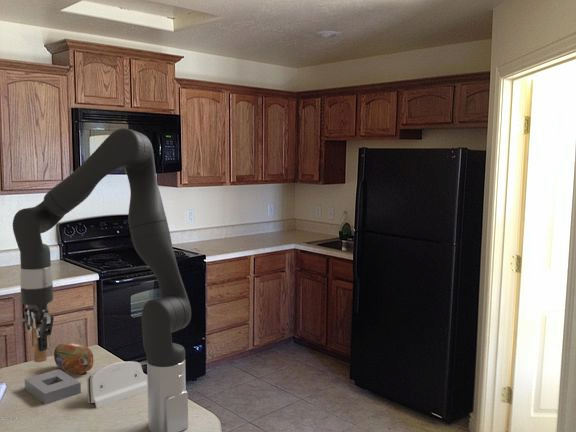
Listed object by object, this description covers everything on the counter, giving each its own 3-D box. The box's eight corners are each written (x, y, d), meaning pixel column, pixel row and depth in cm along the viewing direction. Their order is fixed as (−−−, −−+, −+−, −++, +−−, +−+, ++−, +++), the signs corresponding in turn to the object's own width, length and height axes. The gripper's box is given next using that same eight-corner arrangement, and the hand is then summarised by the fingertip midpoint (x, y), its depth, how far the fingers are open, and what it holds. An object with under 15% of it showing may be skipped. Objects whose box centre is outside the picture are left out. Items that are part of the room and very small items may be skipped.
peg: (48, 359, 139) (46, 322, 138) (36, 363, 137) (35, 325, 136) (43, 357, 141) (42, 320, 140) (32, 360, 139) (30, 323, 138)
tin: (53, 367, 169) (52, 342, 168) (61, 364, 172) (60, 339, 171) (87, 376, 163) (87, 350, 162) (95, 372, 166) (94, 346, 165)
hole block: (80, 392, 151) (80, 382, 151) (45, 404, 144) (44, 393, 144) (59, 378, 161) (58, 369, 161) (25, 388, 154) (24, 378, 153)
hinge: (95, 408, 142) (88, 371, 143) (88, 408, 145) (81, 372, 146) (150, 389, 154) (144, 355, 155) (143, 390, 157) (136, 356, 158)
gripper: (63, 286, 135) (65, 351, 137) (40, 277, 144) (43, 339, 146) (32, 291, 129) (36, 359, 131) (11, 282, 139) (14, 346, 141)
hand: (39, 348), depth 139 cm, fingers closed on peg, 3 cm apart
